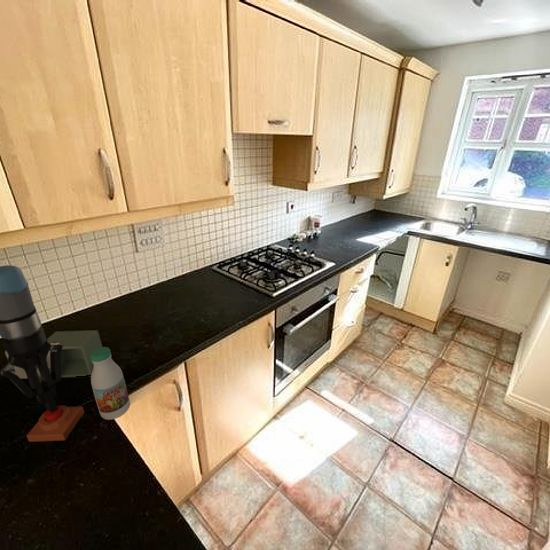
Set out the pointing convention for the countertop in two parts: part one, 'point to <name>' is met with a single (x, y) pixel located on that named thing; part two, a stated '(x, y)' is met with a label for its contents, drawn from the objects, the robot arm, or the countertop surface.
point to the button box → (56, 425)
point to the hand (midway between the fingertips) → (52, 409)
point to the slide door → (22, 374)
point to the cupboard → (76, 351)
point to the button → (53, 415)
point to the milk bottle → (108, 385)
